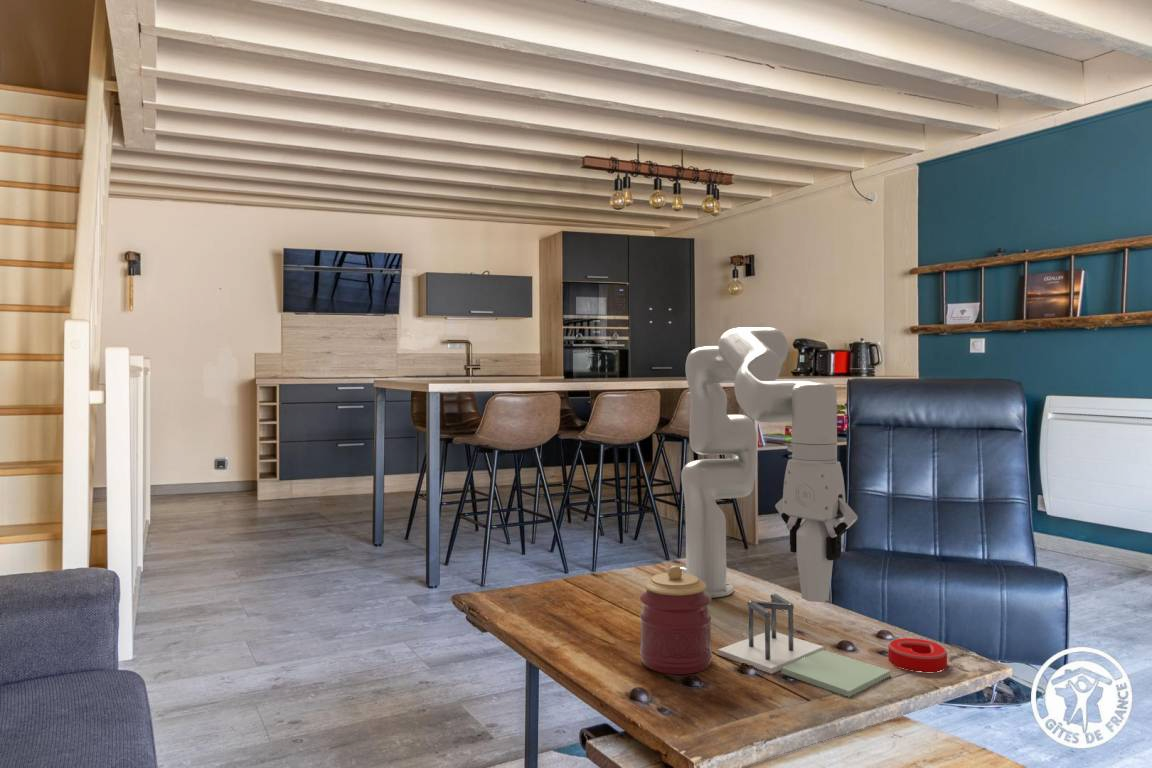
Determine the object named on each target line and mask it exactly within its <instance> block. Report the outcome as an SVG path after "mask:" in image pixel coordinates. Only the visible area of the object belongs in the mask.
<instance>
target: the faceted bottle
mask: <svg viewBox="0 0 1152 768" xmlns="http://www.w3.org/2000/svg"><path fill="white" fill-rule="evenodd" d="M796 533H797V552H796V562H797V570H798V577H799V587H800V592H801V593H800V595H801V599H802V600H805V601H807V602H815V603H822V602H828V601H829V599H830V590H831V581H832V574H833V573H832V572H833V565H834V560H831V561H830V560H827V558H826V538H827V537H829V536H830V535H829V532H828V530H827V527H826V525H825V522H822V521H816V520H810V519H804V520H803V522H802V525H801V526H800V527H799V529H798V530H797V531H796Z"/></svg>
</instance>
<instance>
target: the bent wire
mask: <svg viewBox="0 0 1152 768" xmlns="http://www.w3.org/2000/svg"><path fill="white" fill-rule="evenodd" d="M747 606H748V638H749V647H754V636H755V634H754V633H755V632H754V620H755V619H754V612H755V613H757V614H758V615H760V616H761V617H762V618H764V633H765V659H766V660H770V630H771V633H772V638H776V632H777V610H781V611H787V620H788V621H787V622H788V623H787V627H788V628H787V629H788V630H787V631H788V634H787V635H788V650H790V651H793V637H794V609H795V605H794V604H793V603H792V602H790V601H788V600H787V599H786V598H783V597H782V596H780V595H779V594H777V593H771V594H770V601H763V600H762V601H761V600H749V601H748V602H747ZM767 609H768V610H767Z"/></svg>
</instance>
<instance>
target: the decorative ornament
mask: <svg viewBox="0 0 1152 768" xmlns="http://www.w3.org/2000/svg"><path fill="white" fill-rule="evenodd" d="M887 647H888V648H887V649H888V653H887V654H888V659H889V660H888V661H890V662H891V663H892V664H894V665H896V666H898V667H901V668H904V669H908V670H913V671H922V672H937V671H940V670H943V669H945V668H946V667H947V668H948V651H947V650H946V649H945V647H944V646H942V645H940V644H938V643H936V642H934V641H931V640H925V639H922V638H913V637H911V638H910V637H909V638H908V637H904V638H902V637H901V638H897V639H893V640H891V641H890V642H889V643H888V646H887ZM890 662H889V663H890ZM891 663H890V664H891ZM892 664H891V665H892ZM894 665H893V666H894ZM896 666H895V667H896ZM898 667H897V668H898ZM901 668H900V669H901ZM904 669H903V670H904Z"/></svg>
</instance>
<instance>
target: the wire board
mask: <svg viewBox="0 0 1152 768" xmlns="http://www.w3.org/2000/svg"><path fill="white" fill-rule="evenodd" d="M824 648H825V647H824V646H823V645H820V644H817V643H813V642H810V641H807V640H803V639H800V638H797V637H794V636H793V651H790V650H788V634H787V635H786V634H785V633H784V634H783V633H781V632H778V631H776V638H772V633H771V629H770V660H766V659H765V632H762V633H759V634H757V635H754V647H749V637H748V638H746V639H743V640H740V641H737V642H734V643H732V644H729V645H727V646H724V647H721V648H718V649H717V654H718V656H720V657H723V658H726V659H729V660H731V661H734V662H737V663H740V664H742V663H750V664H751V665H753V666H754V667H755V668H754V667H753V668H754V669H756V668H757V669H756V670H760V671H762V672H764V673H768V674H770V675H773V674H774V673H777V672H779V671H781V668H782V667H784V666H787V665H789V664H791V663H794V662H796V661H799V660H800V659H802V658H804V657H808V656H810V655H813V654H815V653H818V652H820V651H822V650H824Z"/></svg>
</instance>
